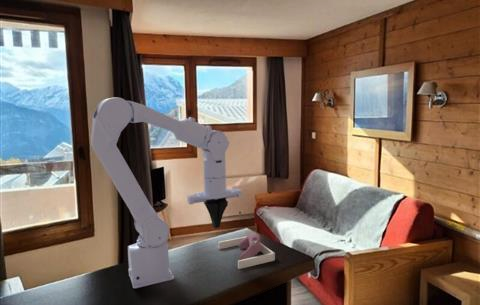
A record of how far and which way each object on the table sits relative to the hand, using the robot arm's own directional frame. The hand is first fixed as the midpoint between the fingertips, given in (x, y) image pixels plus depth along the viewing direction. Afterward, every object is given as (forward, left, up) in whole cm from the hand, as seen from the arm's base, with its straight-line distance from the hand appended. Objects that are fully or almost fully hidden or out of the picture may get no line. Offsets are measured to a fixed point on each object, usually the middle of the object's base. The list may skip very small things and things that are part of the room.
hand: (216, 226), depth 90 cm
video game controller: (+9, -1, -10) cm, 13 cm away
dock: (+8, 0, -9) cm, 12 cm away
